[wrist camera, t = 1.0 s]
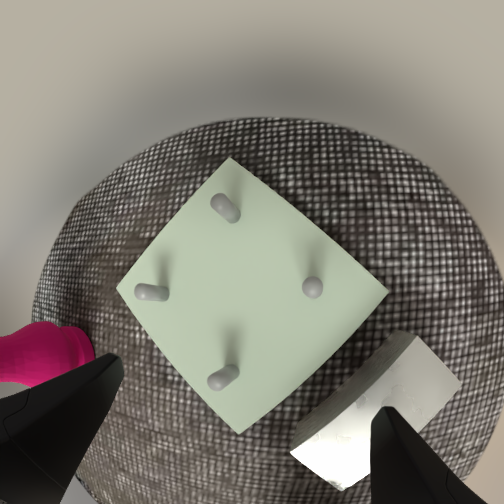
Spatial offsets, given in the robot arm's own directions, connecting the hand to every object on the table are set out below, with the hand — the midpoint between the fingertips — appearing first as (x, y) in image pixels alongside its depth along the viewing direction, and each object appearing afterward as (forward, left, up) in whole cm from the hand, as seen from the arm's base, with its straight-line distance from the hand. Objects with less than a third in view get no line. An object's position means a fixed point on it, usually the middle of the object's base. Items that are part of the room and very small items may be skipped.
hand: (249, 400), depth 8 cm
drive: (-7, -1, -12) cm, 14 cm away
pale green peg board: (+6, 0, -11) cm, 13 cm away
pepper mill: (+14, +18, -12) cm, 25 cm away
